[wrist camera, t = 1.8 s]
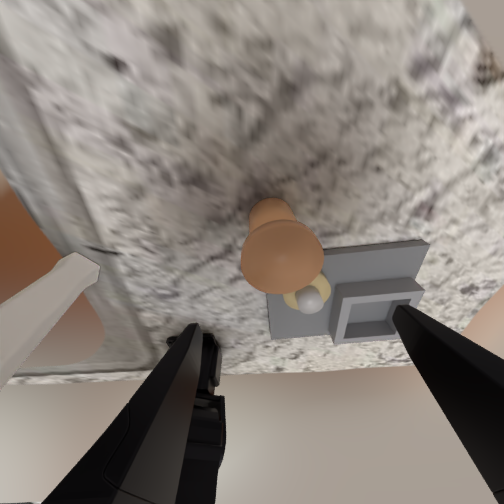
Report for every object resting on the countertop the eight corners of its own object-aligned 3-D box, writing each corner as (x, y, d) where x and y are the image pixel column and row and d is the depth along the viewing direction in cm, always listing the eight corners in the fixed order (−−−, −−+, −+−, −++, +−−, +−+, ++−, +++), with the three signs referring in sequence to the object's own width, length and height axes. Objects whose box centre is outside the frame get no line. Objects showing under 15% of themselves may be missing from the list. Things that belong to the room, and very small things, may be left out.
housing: (270, 333, 28) (273, 362, 24) (263, 255, 21) (266, 282, 17) (388, 322, 27) (408, 351, 24) (422, 239, 20) (458, 263, 17)
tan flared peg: (246, 245, 20) (246, 297, 14) (238, 194, 17) (234, 231, 11) (298, 240, 20) (320, 290, 14) (299, 187, 17) (328, 221, 11)
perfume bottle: (99, 252, 20) (-152, 476, 7) (108, 284, 22) (-71, 496, 10) (48, 245, 19) (-318, 474, 7) (63, 279, 22) (-190, 497, 9)
